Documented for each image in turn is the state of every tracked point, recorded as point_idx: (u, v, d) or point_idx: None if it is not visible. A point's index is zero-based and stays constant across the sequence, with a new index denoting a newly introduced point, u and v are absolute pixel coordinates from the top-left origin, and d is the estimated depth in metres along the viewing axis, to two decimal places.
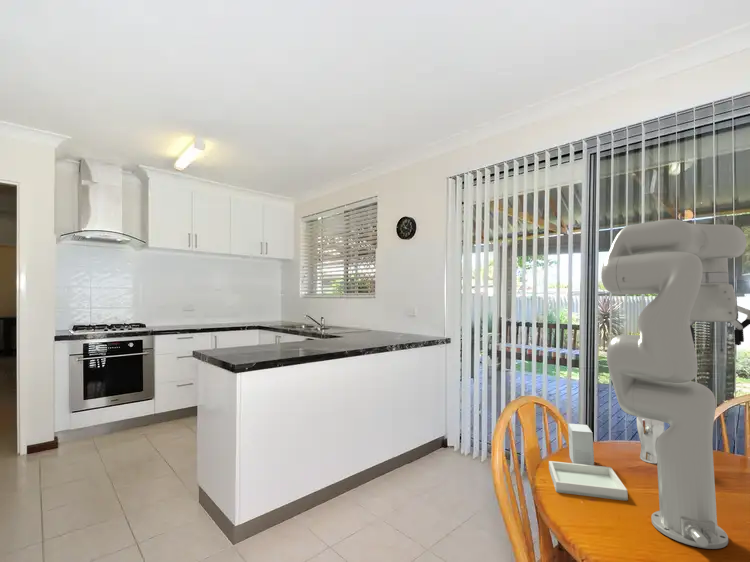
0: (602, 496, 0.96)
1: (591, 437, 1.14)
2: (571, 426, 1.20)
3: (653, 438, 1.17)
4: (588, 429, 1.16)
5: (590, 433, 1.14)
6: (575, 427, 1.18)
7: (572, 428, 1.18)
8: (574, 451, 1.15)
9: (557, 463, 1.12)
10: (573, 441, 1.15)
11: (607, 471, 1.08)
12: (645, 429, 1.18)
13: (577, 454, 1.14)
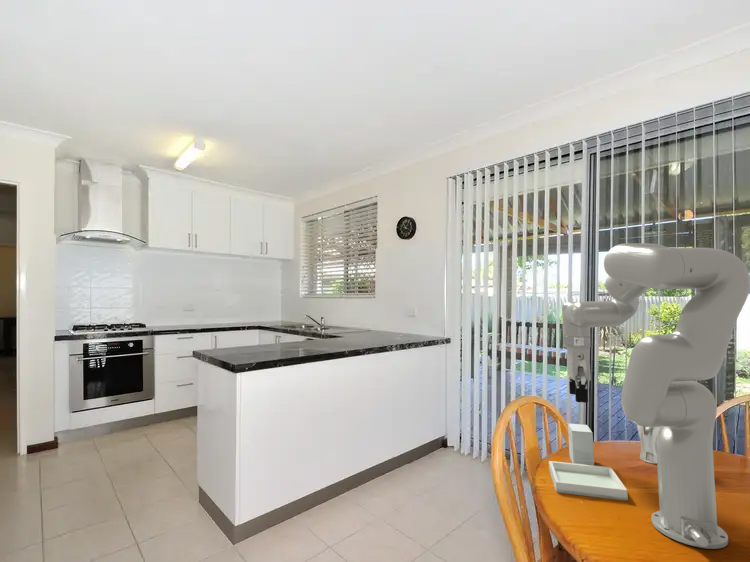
0: (602, 496, 0.96)
1: (591, 437, 1.14)
2: (571, 426, 1.20)
3: (653, 438, 1.17)
4: (588, 429, 1.16)
5: (590, 433, 1.14)
6: (575, 427, 1.18)
7: (572, 428, 1.18)
8: (574, 451, 1.15)
9: (557, 463, 1.12)
10: (573, 441, 1.15)
11: (607, 471, 1.08)
12: (645, 429, 1.18)
13: (577, 454, 1.14)
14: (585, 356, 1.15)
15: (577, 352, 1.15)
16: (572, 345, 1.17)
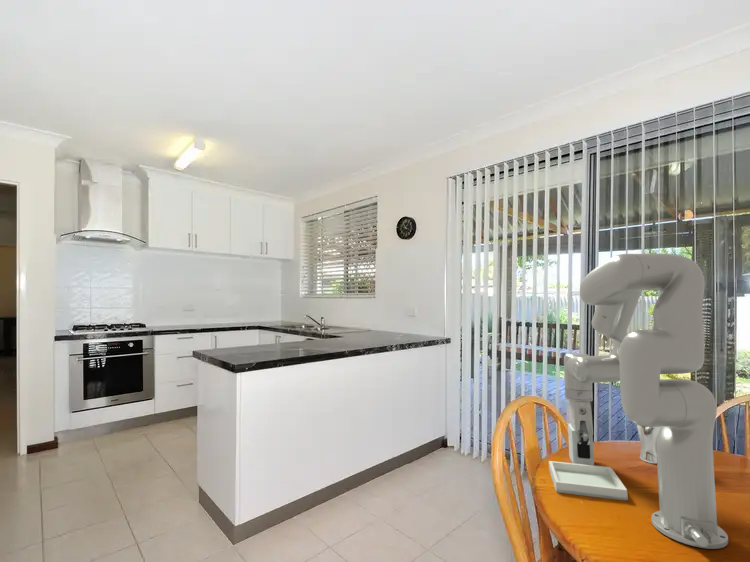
0: (602, 496, 0.96)
1: (591, 437, 1.14)
2: (571, 426, 1.20)
3: (653, 438, 1.17)
4: None
5: None
6: None
7: (572, 428, 1.18)
8: (574, 451, 1.15)
9: (557, 463, 1.12)
10: (573, 441, 1.15)
11: (607, 471, 1.08)
12: (645, 429, 1.18)
13: (577, 454, 1.15)
14: (587, 410, 1.14)
15: (579, 406, 1.14)
16: (574, 398, 1.16)
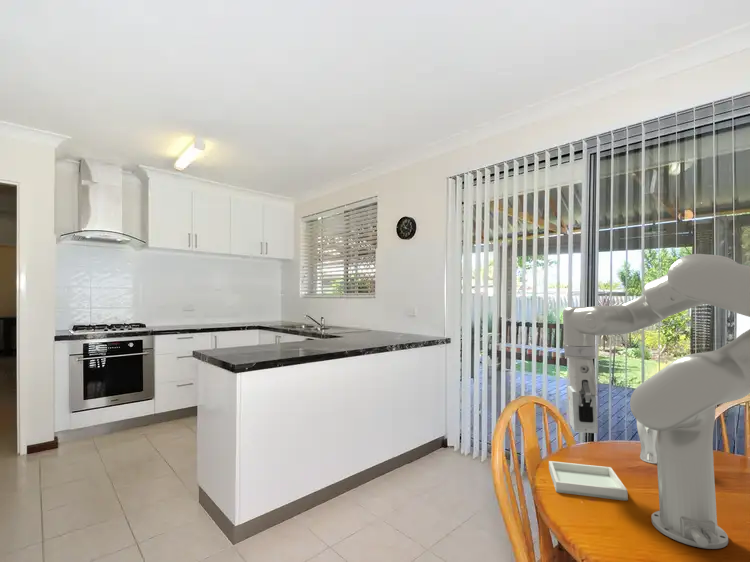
0: (602, 496, 0.96)
1: (594, 398, 1.01)
2: (571, 388, 1.07)
3: (653, 438, 1.17)
4: None
5: None
6: None
7: (572, 389, 1.05)
8: (575, 414, 1.02)
9: (557, 463, 1.12)
10: (574, 403, 1.02)
11: (607, 471, 1.08)
12: (645, 429, 1.18)
13: (578, 417, 1.02)
14: (590, 368, 1.01)
15: (581, 364, 1.02)
16: (575, 356, 1.03)
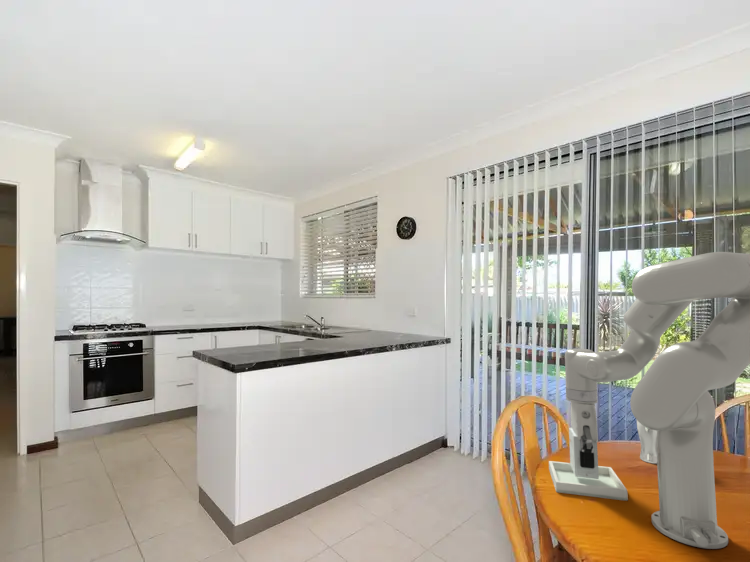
0: (602, 496, 0.96)
1: (595, 443, 1.00)
2: (572, 431, 1.06)
3: (653, 438, 1.17)
4: None
5: None
6: None
7: (573, 433, 1.04)
8: (576, 459, 1.01)
9: (557, 463, 1.12)
10: (575, 448, 1.02)
11: (607, 471, 1.08)
12: (645, 429, 1.18)
13: (579, 462, 1.01)
14: (591, 414, 1.00)
15: (582, 409, 1.01)
16: (576, 400, 1.03)
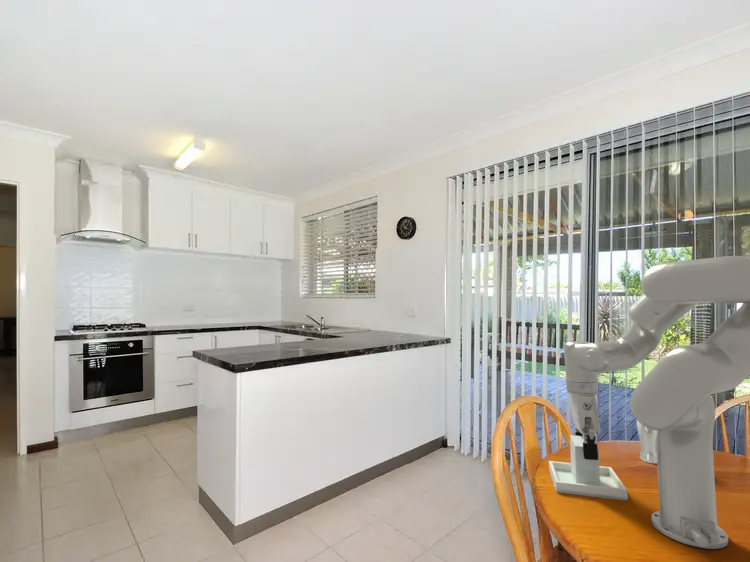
0: (602, 496, 0.96)
1: None
2: (574, 439, 1.06)
3: (653, 438, 1.17)
4: None
5: None
6: (579, 441, 1.04)
7: (575, 442, 1.04)
8: (577, 469, 1.01)
9: (557, 463, 1.12)
10: (576, 458, 1.01)
11: (607, 471, 1.08)
12: (645, 429, 1.18)
13: (580, 472, 1.01)
14: (593, 405, 1.00)
15: (583, 400, 1.01)
16: (577, 392, 1.02)
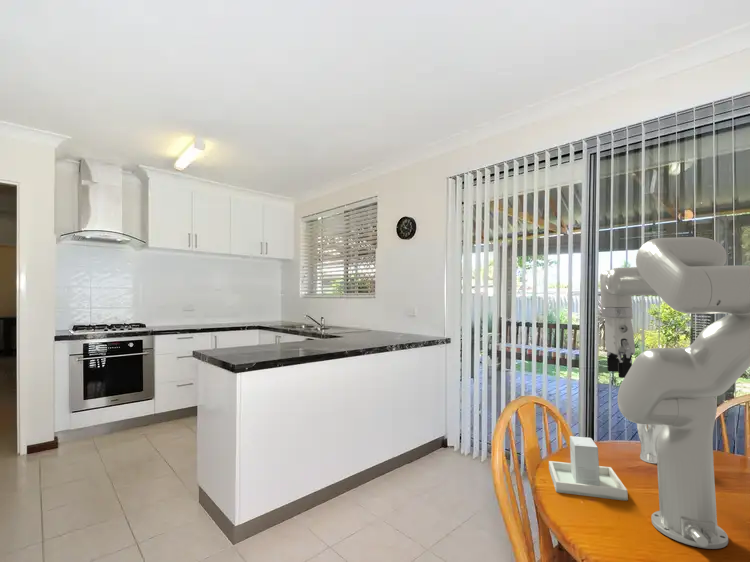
0: (602, 496, 0.96)
1: (596, 453, 1.00)
2: (573, 439, 1.06)
3: (653, 438, 1.17)
4: (593, 443, 1.03)
5: (595, 448, 1.00)
6: (578, 441, 1.05)
7: (574, 442, 1.04)
8: (577, 468, 1.01)
9: (557, 463, 1.12)
10: (576, 457, 1.02)
11: (607, 471, 1.08)
12: (645, 429, 1.18)
13: (580, 472, 1.01)
14: (629, 328, 1.05)
15: (620, 323, 1.06)
16: (613, 316, 1.08)
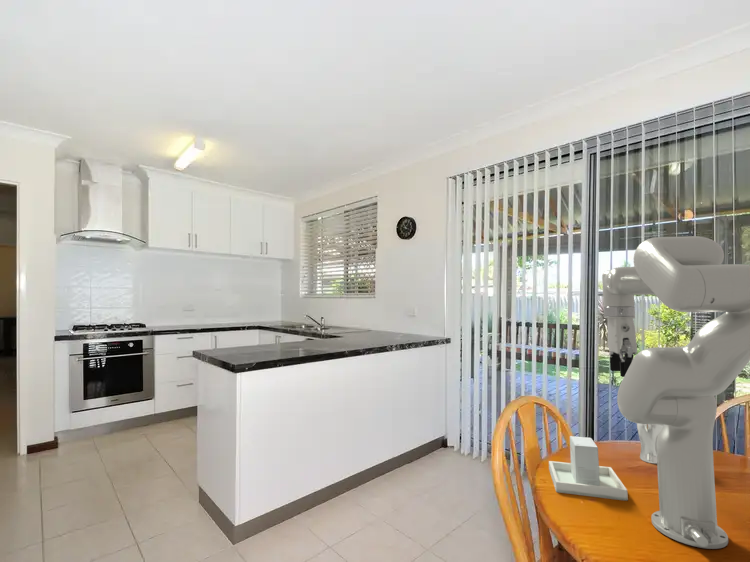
0: (602, 496, 0.96)
1: (596, 453, 1.00)
2: (573, 439, 1.06)
3: (653, 438, 1.17)
4: (593, 443, 1.03)
5: (595, 448, 1.00)
6: (578, 441, 1.05)
7: (574, 442, 1.04)
8: (577, 468, 1.01)
9: (557, 463, 1.12)
10: (576, 457, 1.02)
11: (607, 471, 1.08)
12: (645, 429, 1.18)
13: (580, 472, 1.01)
14: (631, 327, 1.05)
15: (621, 323, 1.06)
16: (615, 316, 1.08)
